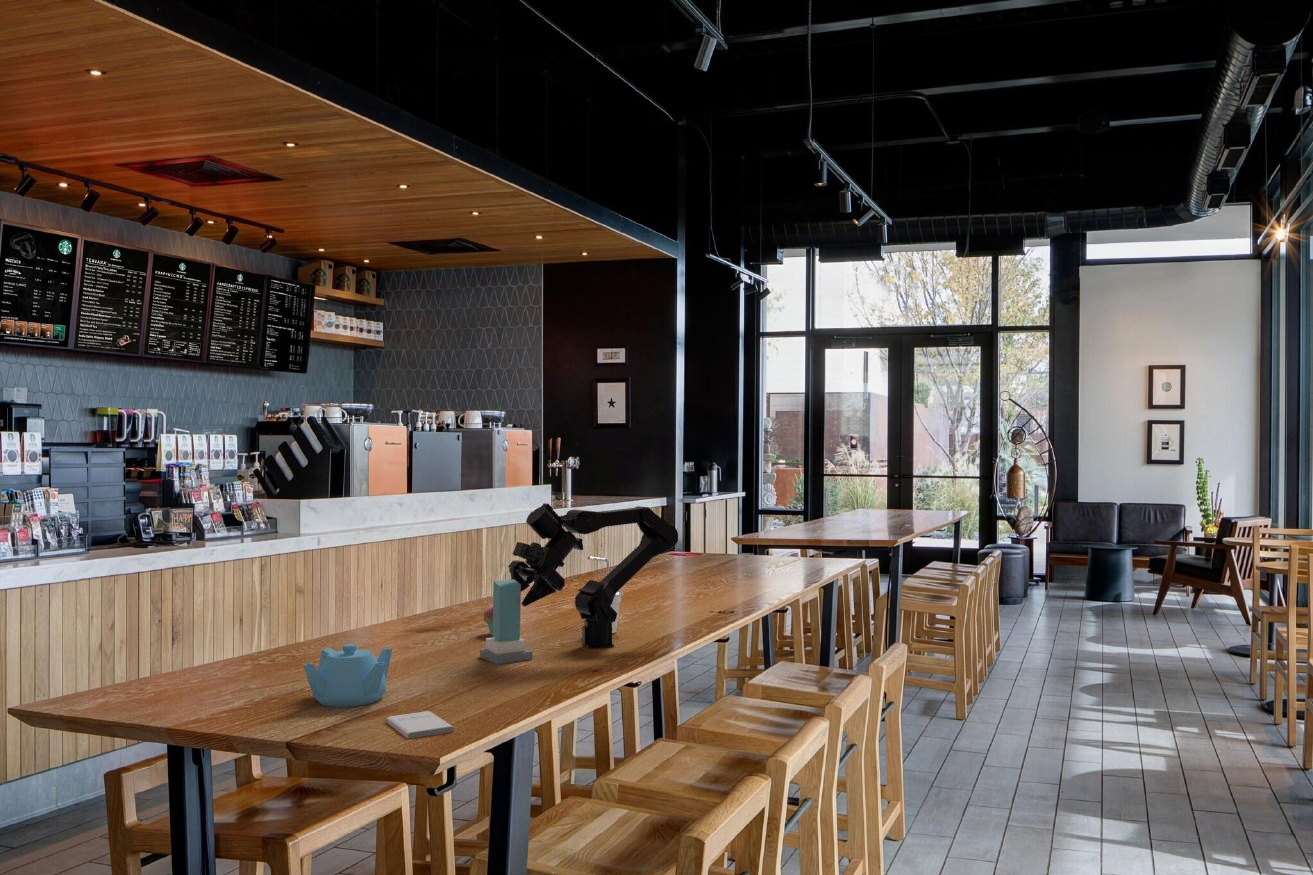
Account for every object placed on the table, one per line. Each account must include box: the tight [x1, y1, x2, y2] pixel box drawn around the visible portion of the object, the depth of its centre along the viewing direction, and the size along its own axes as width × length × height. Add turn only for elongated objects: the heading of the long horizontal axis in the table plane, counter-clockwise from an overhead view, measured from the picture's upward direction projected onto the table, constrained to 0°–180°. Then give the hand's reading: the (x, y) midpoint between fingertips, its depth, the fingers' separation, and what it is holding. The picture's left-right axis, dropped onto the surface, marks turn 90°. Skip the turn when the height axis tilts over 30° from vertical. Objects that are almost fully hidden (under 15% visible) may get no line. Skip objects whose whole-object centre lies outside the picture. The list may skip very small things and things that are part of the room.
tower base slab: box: [479, 648, 533, 665], centre depth 246 cm, size 9×9×2 cm
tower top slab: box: [485, 636, 526, 654], centre depth 246 cm, size 7×7×2 cm
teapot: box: [302, 643, 393, 708], centre depth 208 cm, size 15×15×11 cm
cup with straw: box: [587, 556, 624, 634], centre depth 279 cm, size 8×9×20 cm
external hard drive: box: [385, 710, 455, 740], centre depth 187 cm, size 2×8×12 cm
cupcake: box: [483, 607, 493, 636], centre depth 277 cm, size 9×8×12 cm
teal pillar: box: [492, 579, 522, 642], centre depth 246 cm, size 5×5×13 cm
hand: (513, 602), depth 247 cm, fingers open, 9 cm apart
